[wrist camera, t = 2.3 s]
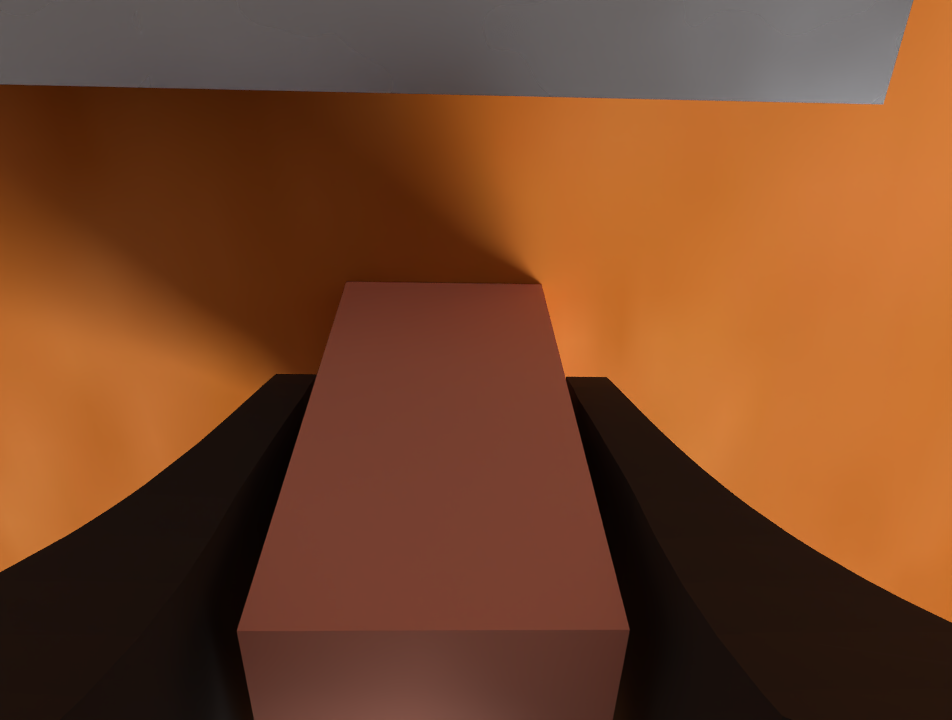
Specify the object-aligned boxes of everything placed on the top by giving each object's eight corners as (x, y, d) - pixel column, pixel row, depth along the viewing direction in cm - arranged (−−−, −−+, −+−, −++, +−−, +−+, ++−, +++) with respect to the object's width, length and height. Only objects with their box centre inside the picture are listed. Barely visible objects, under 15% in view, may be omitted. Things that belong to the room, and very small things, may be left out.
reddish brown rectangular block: (357, 440, 14) (278, 845, 8) (346, 281, 12) (235, 631, 6) (529, 441, 14) (589, 841, 8) (541, 284, 12) (628, 629, 6)
